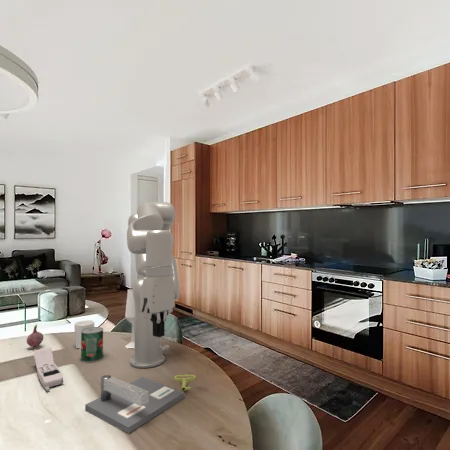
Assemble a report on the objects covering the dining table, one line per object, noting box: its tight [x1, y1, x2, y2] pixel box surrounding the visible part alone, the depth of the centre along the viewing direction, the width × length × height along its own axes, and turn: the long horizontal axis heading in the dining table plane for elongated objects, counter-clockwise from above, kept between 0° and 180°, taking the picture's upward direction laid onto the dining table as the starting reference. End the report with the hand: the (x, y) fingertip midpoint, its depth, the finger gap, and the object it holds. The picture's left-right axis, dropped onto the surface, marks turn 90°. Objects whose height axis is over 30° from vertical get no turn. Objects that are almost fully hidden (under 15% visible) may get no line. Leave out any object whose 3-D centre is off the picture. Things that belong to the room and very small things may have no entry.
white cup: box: [74, 319, 95, 350], centre depth 133 cm, size 8×8×10 cm
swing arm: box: [100, 374, 149, 406], centre depth 84 cm, size 3×17×6 cm, turn 56°
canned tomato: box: [80, 326, 104, 364], centre depth 120 cm, size 8×8×11 cm
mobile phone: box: [33, 347, 64, 392], centre depth 105 cm, size 6×6×25 cm
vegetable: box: [26, 324, 44, 349], centre depth 131 cm, size 6×6×10 cm
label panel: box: [84, 376, 185, 434], centre depth 88 cm, size 20×18×2 cm
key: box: [173, 374, 197, 392], centre depth 100 cm, size 7×12×2 cm, turn 23°
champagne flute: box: [124, 288, 135, 349], centre depth 134 cm, size 7×7×24 cm
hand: (158, 335), depth 90 cm, fingers closed
